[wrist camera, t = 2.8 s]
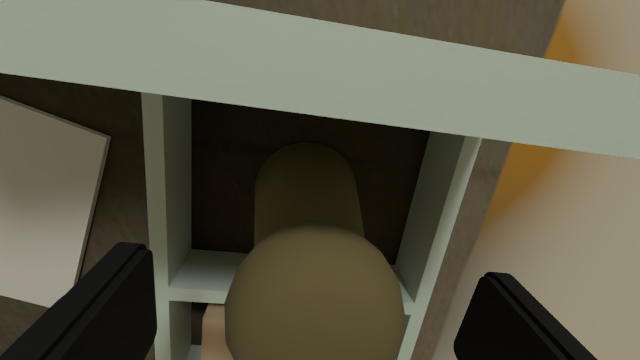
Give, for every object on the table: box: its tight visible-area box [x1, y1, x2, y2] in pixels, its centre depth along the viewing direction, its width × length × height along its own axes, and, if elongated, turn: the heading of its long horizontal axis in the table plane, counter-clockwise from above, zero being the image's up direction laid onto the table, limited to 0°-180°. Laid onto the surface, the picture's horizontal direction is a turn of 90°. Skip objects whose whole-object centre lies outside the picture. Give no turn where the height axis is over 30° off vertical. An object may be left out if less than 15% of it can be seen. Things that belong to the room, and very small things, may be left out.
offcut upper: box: [201, 303, 234, 360], centre depth 18 cm, size 5×9×2 cm, turn 81°
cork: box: [224, 142, 406, 360], centre depth 12 cm, size 6×6×11 cm
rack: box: [0, 0, 640, 360], centre depth 13 cm, size 20×15×12 cm
